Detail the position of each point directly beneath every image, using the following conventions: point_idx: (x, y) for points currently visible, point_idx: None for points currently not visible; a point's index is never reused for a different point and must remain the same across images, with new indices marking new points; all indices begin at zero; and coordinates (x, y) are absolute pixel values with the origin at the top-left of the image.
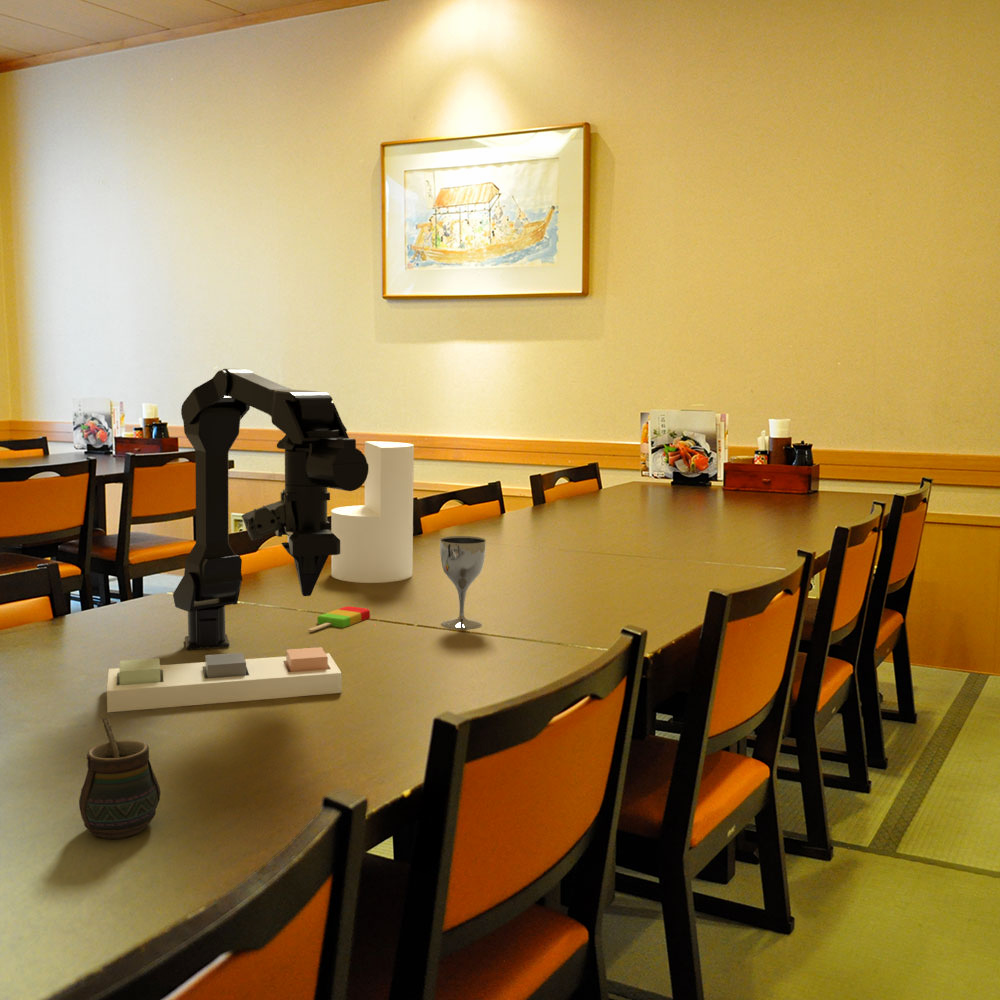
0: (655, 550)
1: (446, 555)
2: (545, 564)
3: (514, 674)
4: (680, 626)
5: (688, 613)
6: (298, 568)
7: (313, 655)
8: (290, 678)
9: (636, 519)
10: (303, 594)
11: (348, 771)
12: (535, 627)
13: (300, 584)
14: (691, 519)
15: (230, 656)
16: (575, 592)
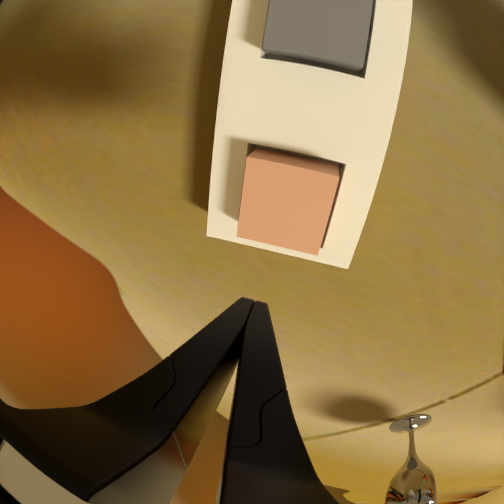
0: None
1: (415, 490)
2: (467, 467)
3: None
4: None
5: None
6: (137, 378)
7: (257, 214)
8: (215, 136)
9: (474, 487)
10: (239, 301)
11: (13, 147)
12: (352, 447)
13: (230, 326)
14: (452, 496)
15: (336, 29)
16: None
